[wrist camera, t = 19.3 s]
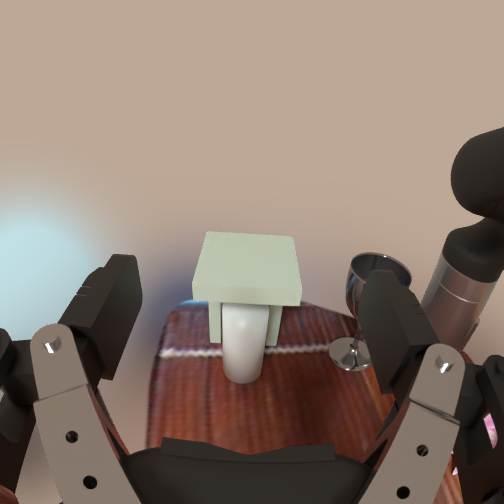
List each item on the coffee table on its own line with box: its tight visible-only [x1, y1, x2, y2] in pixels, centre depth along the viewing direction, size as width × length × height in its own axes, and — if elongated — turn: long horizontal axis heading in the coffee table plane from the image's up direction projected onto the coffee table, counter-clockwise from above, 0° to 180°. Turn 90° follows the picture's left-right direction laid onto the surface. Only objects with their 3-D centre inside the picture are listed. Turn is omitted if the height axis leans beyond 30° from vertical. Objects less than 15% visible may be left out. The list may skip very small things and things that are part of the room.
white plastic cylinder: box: [222, 302, 269, 384], centre depth 38 cm, size 5×5×11 cm
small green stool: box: [192, 232, 303, 346], centre depth 37 cm, size 10×10×17 cm
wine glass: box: [328, 252, 412, 371], centre depth 39 cm, size 8×8×15 cm
